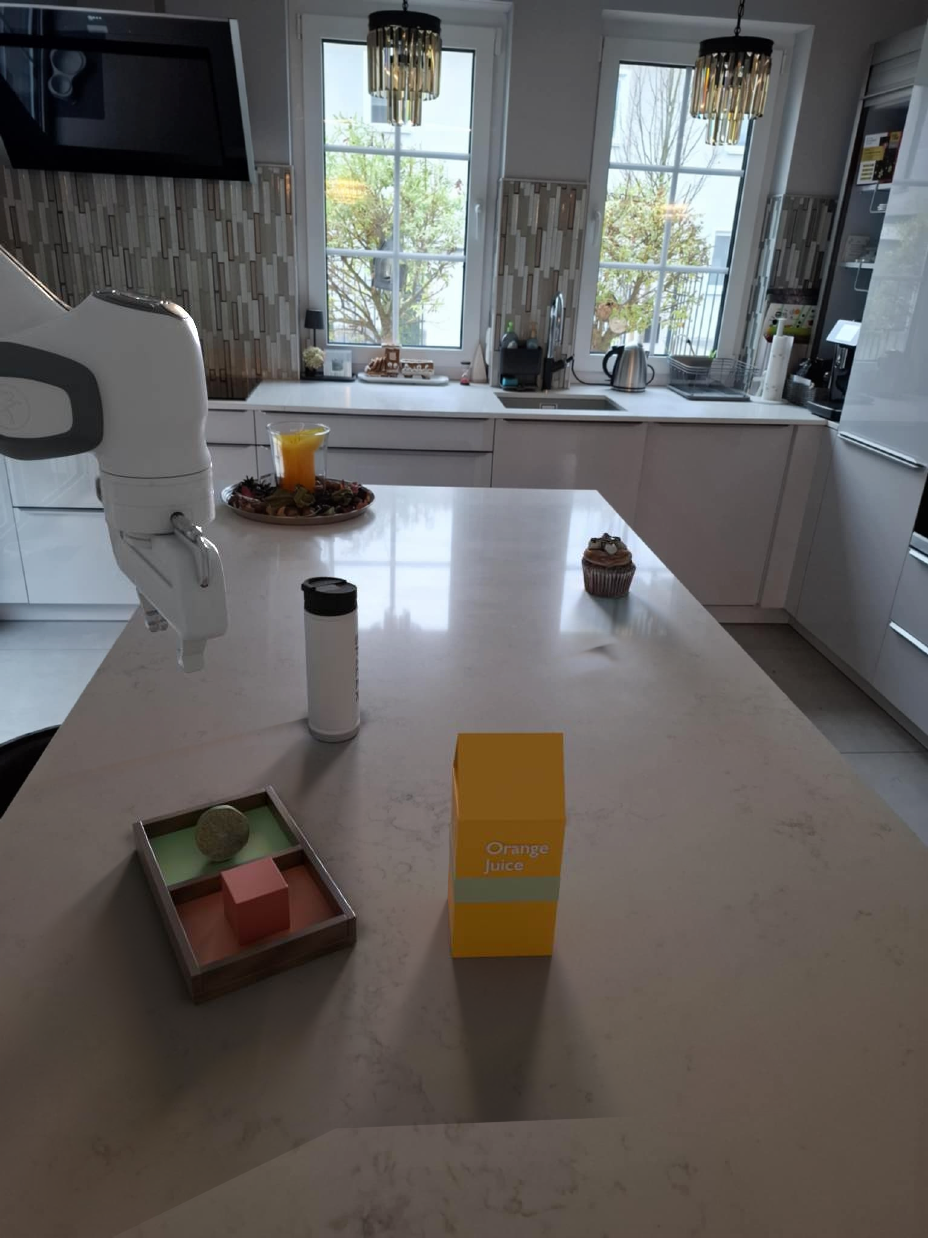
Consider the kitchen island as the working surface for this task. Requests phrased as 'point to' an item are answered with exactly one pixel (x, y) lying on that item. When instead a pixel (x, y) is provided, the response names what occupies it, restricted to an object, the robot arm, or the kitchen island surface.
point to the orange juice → (505, 843)
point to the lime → (221, 833)
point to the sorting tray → (197, 900)
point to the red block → (255, 900)
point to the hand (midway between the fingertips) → (173, 647)
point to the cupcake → (607, 567)
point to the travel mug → (331, 658)
